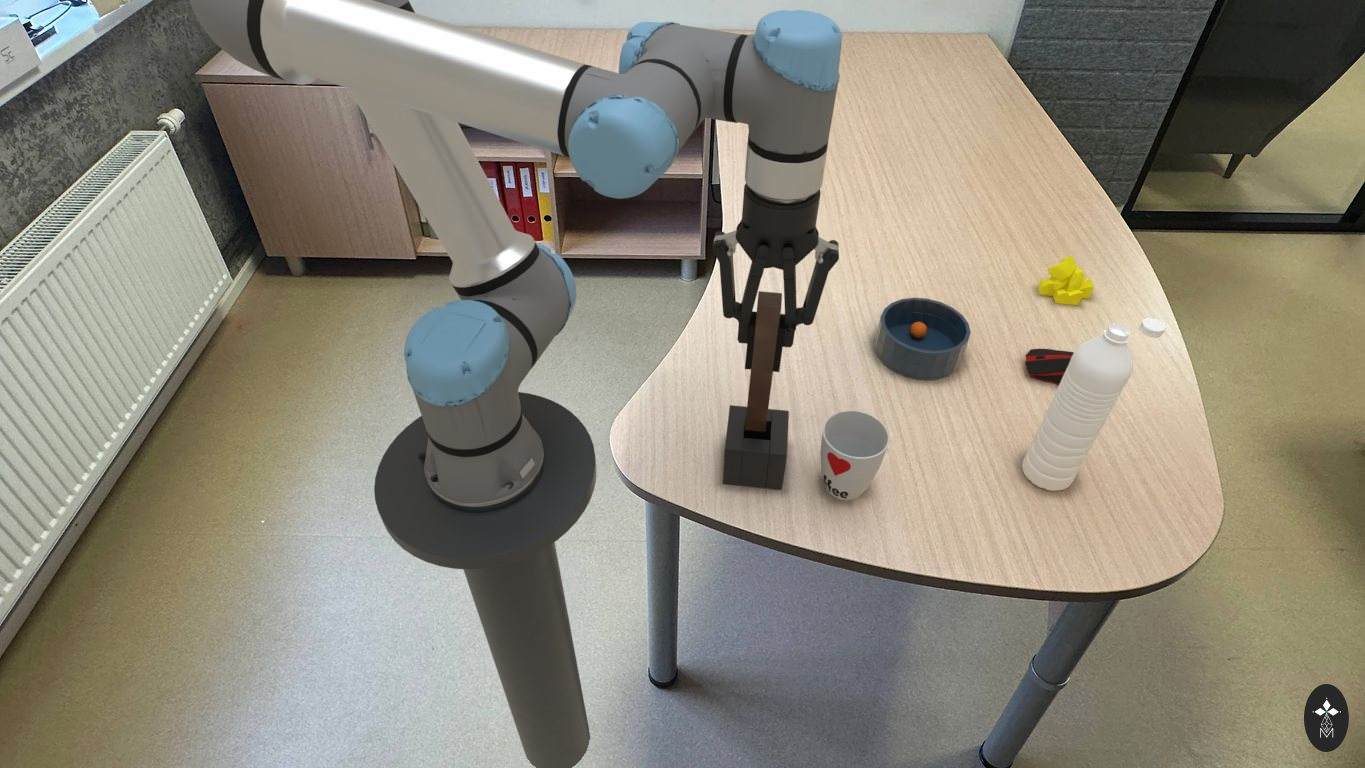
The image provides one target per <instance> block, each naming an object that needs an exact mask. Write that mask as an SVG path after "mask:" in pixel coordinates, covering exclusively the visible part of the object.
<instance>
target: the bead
mask: <svg viewBox="0 0 1365 768" xmlns="http://www.w3.org/2000/svg"><path fill="white" fill-rule="evenodd" d="M910 333H911V335H912V336H913V337H915V338H922V337H924V336H925V335H926V333H927V327H926V325H925V324H924V323H922V322H915V323H913V324H912V325H911V327H910Z"/></svg>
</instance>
